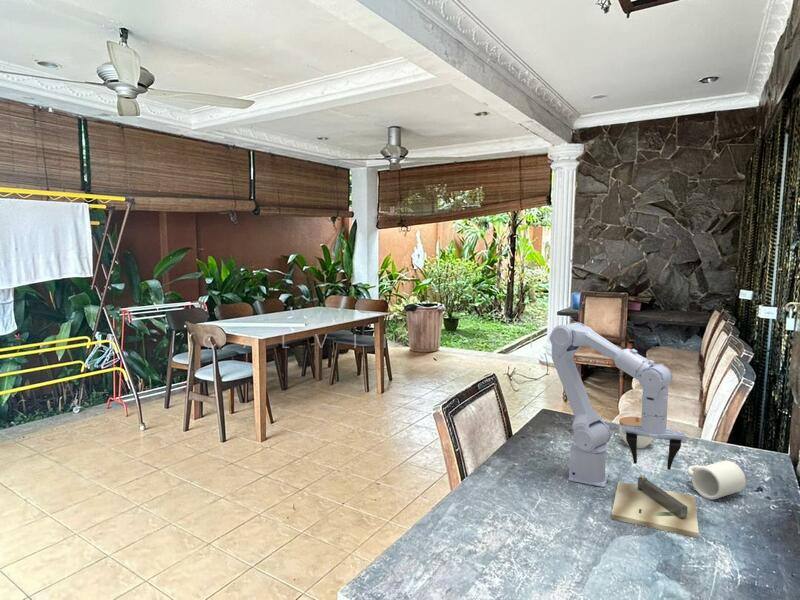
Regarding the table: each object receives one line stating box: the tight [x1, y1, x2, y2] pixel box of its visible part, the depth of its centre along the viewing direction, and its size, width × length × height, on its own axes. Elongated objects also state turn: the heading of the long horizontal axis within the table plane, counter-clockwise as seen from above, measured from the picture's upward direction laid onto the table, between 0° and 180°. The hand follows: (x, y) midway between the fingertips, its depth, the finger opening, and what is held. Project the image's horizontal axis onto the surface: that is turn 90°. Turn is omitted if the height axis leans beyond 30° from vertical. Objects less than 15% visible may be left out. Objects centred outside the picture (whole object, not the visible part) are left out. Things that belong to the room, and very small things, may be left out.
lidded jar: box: [619, 416, 654, 449], centre depth 167 cm, size 11×11×9 cm
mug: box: [686, 460, 747, 501], centre depth 136 cm, size 12×10×8 cm
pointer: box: [637, 475, 687, 518], centre depth 127 cm, size 2×16×3 cm, turn 11°
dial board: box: [611, 481, 700, 539], centre depth 126 cm, size 18×19×1 cm
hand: (651, 465), depth 130 cm, fingers open, 7 cm apart
